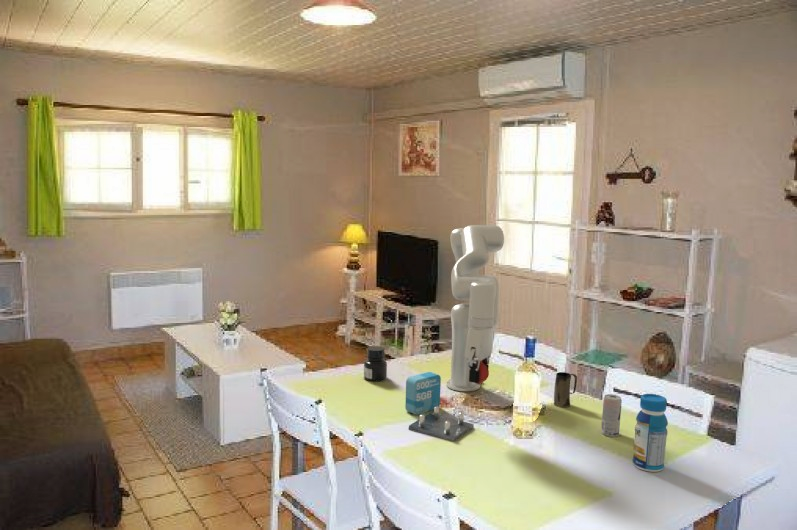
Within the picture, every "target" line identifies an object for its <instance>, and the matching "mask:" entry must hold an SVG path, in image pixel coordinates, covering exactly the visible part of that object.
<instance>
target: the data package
mask: <svg viewBox="0 0 797 530" xmlns="http://www.w3.org/2000/svg"><path fill="white" fill-rule="evenodd" d="M441 380H442V379H441V375H440V374H437V373H434V372H431V371H428V372H427V371H426V372H424V373H418V374H415V375H410V376H408V377H407V379H406V381H405V404H404V405H405V406H404V407H405V411H407V412H409V413H410V414H413V415H421V414H424V413H428V412H430V411H434V406H438V407H439V408H440V405H441V386H442V385H441V384H442V383H441Z"/></svg>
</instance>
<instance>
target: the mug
mask: <svg viewBox="0 0 797 530" xmlns="http://www.w3.org/2000/svg"><path fill="white" fill-rule="evenodd" d="M555 374H556V376H555V381H554V391H553V405H554V406H555V407H558V408H562V409H563V408H565V409H566V408H570V407H571V397H570V396H571V395H573V394H575V393H576V389H577V383H578V377H577V375H576V374H575V373H570V372H565V371H564V372H563V371H560V372H557V373H555ZM572 376H573V377H574V383H573V384H574V385H573V391H572V392H571V382H572V381H571V379H572Z"/></svg>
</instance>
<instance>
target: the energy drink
mask: <svg viewBox="0 0 797 530" xmlns="http://www.w3.org/2000/svg"><path fill="white" fill-rule="evenodd" d="M622 401H623V400H622V396H619V395H616V394H612V393H610V394H605V395H604V397H603V401H602V416H601V428H600V431H601V434H602V435H603V436H606V437H610V438H616V437H618V436H619V435H620V428H621V426H620V425H621V415H622V413H621V412H622V403H623V402H622Z"/></svg>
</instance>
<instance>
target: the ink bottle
mask: <svg viewBox="0 0 797 530" xmlns="http://www.w3.org/2000/svg"><path fill="white" fill-rule="evenodd" d="M385 349H386V348H385V347H383V346H378V345H376V346H375V345H374V346H373V345H372V346H368V347H366V359H365V361H364V362H363V379H364V380H365V381H369V382H383V381H385V380H386V379H387V375H388V374H387V373H388V371H387V370H388V369H387V368H388V363H387V361H386V360H385V353H386V351H385Z"/></svg>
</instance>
